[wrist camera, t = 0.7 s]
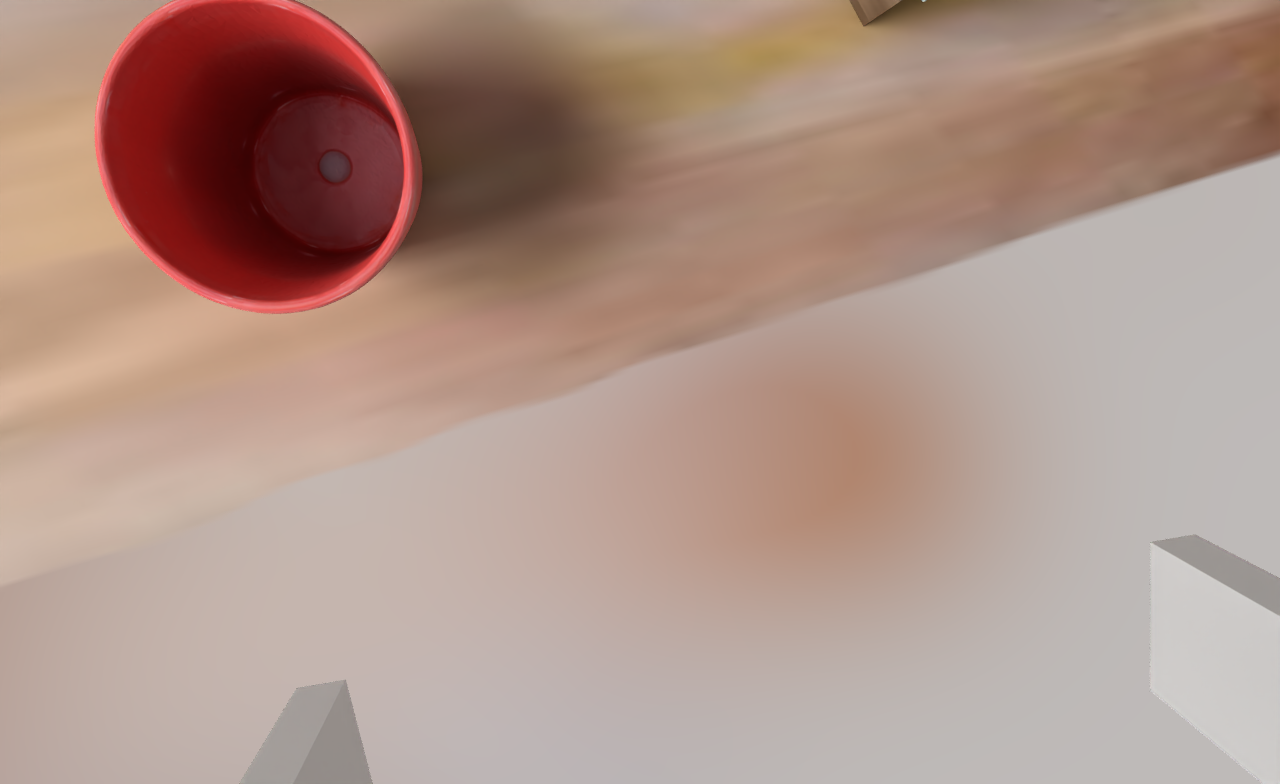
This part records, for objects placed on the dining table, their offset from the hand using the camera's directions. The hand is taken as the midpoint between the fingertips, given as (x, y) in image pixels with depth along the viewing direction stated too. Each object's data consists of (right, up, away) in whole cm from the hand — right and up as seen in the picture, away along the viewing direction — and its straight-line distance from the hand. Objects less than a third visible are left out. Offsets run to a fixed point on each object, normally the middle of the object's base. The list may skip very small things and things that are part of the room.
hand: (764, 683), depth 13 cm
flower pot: (-16, +15, +24) cm, 32 cm away
